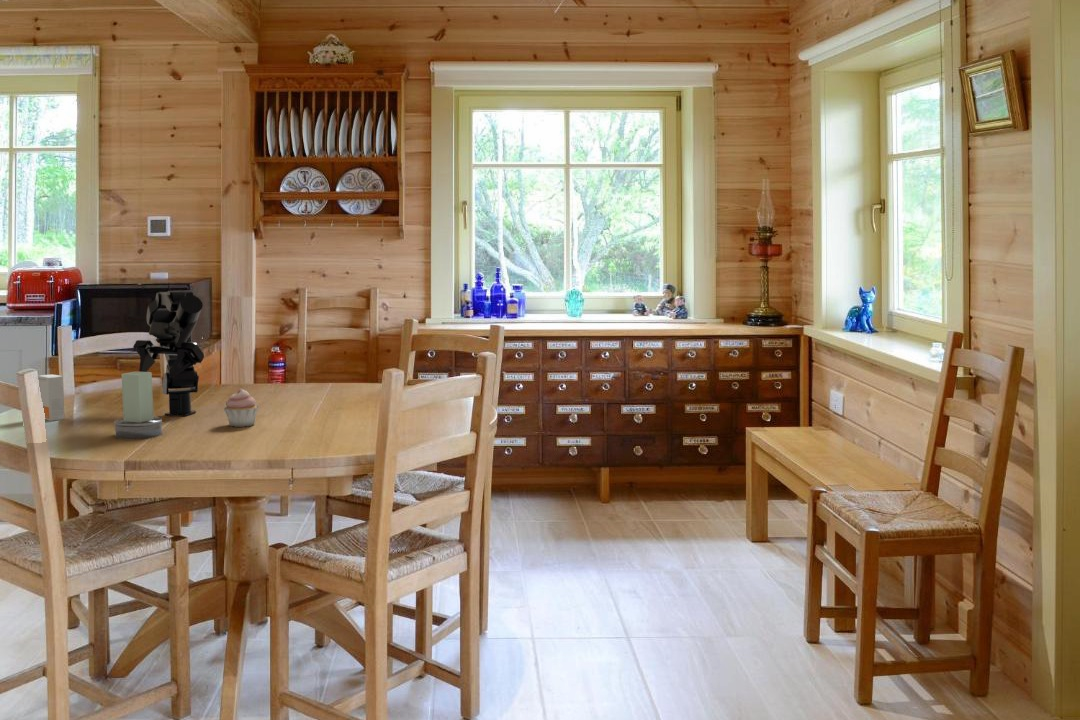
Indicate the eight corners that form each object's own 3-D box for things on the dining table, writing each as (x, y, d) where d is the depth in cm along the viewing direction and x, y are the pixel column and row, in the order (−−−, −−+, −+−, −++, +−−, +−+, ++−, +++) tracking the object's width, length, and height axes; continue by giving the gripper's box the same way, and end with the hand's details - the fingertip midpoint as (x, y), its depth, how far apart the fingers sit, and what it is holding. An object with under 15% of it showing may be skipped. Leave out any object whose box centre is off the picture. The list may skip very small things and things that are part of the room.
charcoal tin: (130, 431, 261) (130, 415, 261) (170, 432, 260) (170, 417, 259) (105, 439, 250) (105, 423, 250) (147, 441, 249) (146, 425, 248)
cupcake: (221, 423, 272) (220, 386, 271) (256, 421, 276) (256, 384, 275) (225, 429, 264) (224, 391, 263) (262, 427, 267) (261, 389, 266)
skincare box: (39, 418, 276) (37, 375, 275) (54, 416, 280) (52, 373, 278) (50, 421, 273) (48, 377, 271) (65, 419, 276) (63, 375, 275)
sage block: (137, 417, 258) (134, 371, 256) (153, 419, 256) (151, 372, 255) (123, 421, 253) (121, 373, 252) (140, 422, 252) (138, 374, 250)
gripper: (136, 309, 270) (109, 355, 261) (196, 312, 264) (170, 358, 255) (156, 336, 278) (131, 381, 269) (214, 339, 273) (191, 385, 264)
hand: (155, 376), depth 264 cm, fingers open, 9 cm apart
